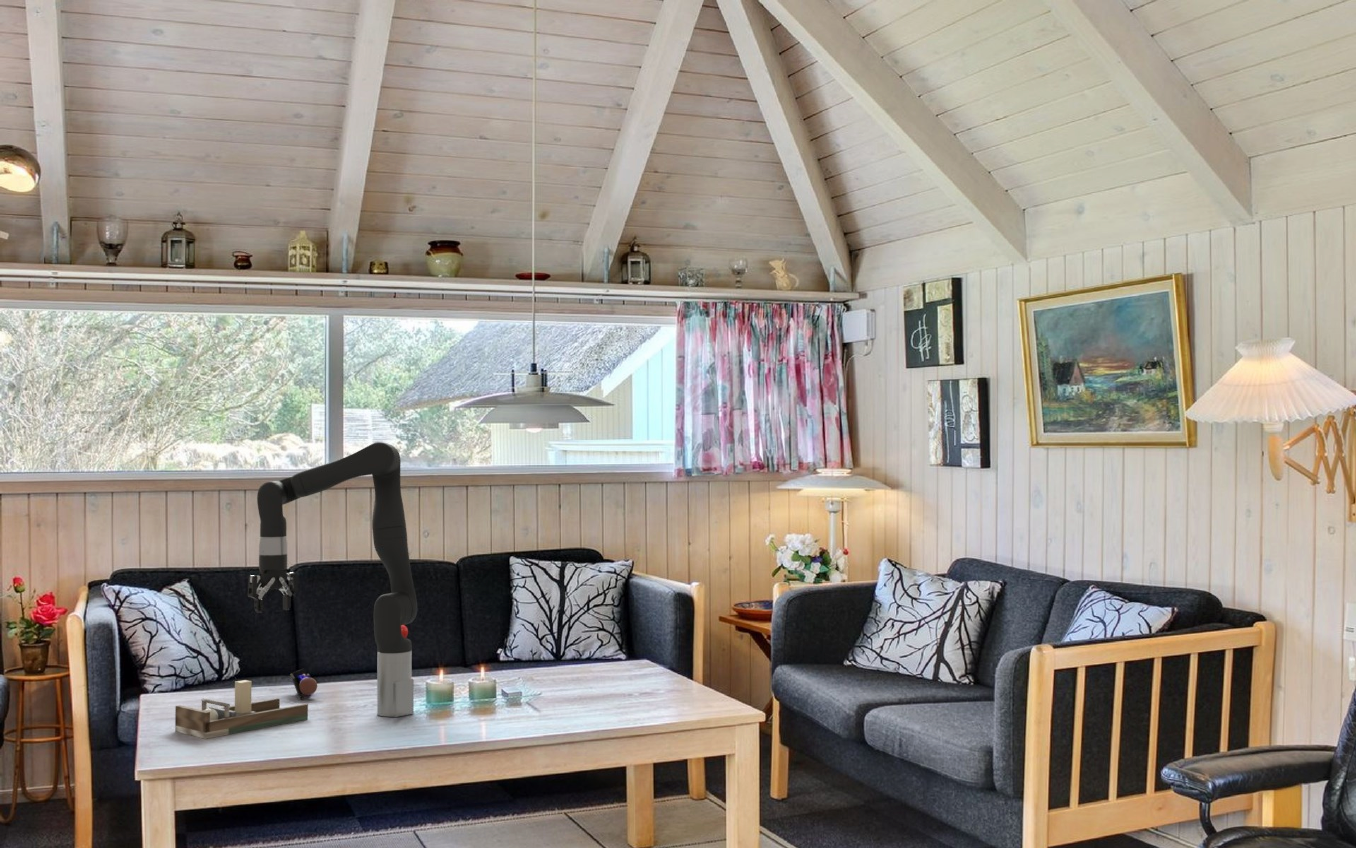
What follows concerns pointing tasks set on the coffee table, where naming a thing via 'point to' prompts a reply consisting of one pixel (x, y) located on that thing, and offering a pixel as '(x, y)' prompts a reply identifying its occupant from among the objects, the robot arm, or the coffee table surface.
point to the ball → (212, 714)
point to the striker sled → (239, 700)
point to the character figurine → (303, 683)
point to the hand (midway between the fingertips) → (272, 611)
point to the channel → (235, 718)
